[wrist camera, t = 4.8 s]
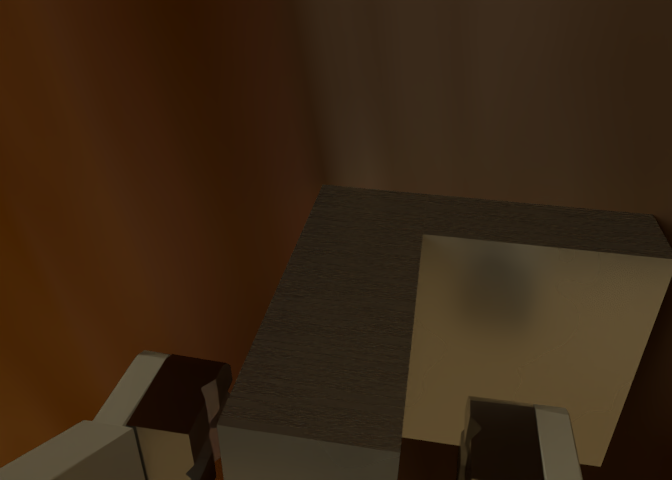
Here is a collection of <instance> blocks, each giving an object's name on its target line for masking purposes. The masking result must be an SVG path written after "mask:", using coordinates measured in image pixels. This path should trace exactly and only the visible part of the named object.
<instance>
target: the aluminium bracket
mask: <svg viewBox="0 0 672 480" xmlns="http://www.w3.org/2000/svg"><path fill="white" fill-rule="evenodd" d="M671 277H672V248H671V247H670V245H669V243H668V241H667V239H666V238H665V236H664V234H663V232H662V230H661V229H660V227H659V225H658V223H657V221H656V220H655V218H654V216H653V215H651V214H640V213H629V212H618V211H607V210H596V209H585V208H574V207H563V206H552V205H541V204H530V203H519V202H508V201H497V200H486V199H475V198H464V197H453V196H442V195H431V194H420V193H409V192H398V191H387V190H376V189H365V188H354V187H343V186H332V185H322V187H321V190H320V192H319V194H318V196H317V199H316V201H315V203H314V205H313V208H312V210H311V212H310V215H309V217H308V219H307V221H306V224H305V226H304V228H303V230H302V233H301V235H300V237H299V239H298V242H297V244H296V246H295V249H294V251H293V253H292V255H291V258H290V260H289V262H288V264H287V267H286V269H285V271H284V273H283V276H282V278H281V280H280V283H279V285H278V287H277V289H276V292H275V294H274V296H273V298H272V301H271V303H270V305H269V307H268V310H267V312H266V314H265V317H264V319H263V321H262V323H261V326H260V328H259V330H258V332H257V335H256V337H255V339H254V341H253V344H252V346H251V348H250V351H249V353H248V355H247V357H246V360H245V362H244V364H243V366H242V369H241V371H240V373H239V375H238V378H237V380H236V382H235V385H234V387H233V389H232V391H231V394H230V396H229V398H228V400H227V403H226V405H225V407H224V409H223V412H222V414H221V416H220V418H219V421H218V423H217V431H218V438H219V446H220V453H221V461H222V468H223V476H224V480H398V470H399V461H400V451H401V442H402V437H404V438H411V439H417V440H424V441H431V442H437V443H444V444H451V445H458V446H459V442H460V436H461V432H462V431H463V430H464V416H465V407H466V402H467V399H468V396H475V397H483V398H491V399H499V400H506V401H514V402H522V403H530V404H531V405H532V404H538V405H546V406H554V407H562V408H566V409H567V411H568V412H569V414H570V419H571V424H572V429H573V434H574V439H575V443H576V448H577V453H578V458H579V463H580V464H585V465H592V466H599V467H601V465H602V462H603V459H604V456H605V454H606V451H607V448H608V446H609V443H610V440H611V438H612V435H613V432H614V430H615V427H616V424H617V422H618V419H619V416H620V414H621V411H622V408H623V406H624V403H625V400H626V398H627V395H628V392H629V389H630V387H631V384H632V381H633V379H634V376H635V373H636V371H637V368H638V365H639V363H640V360H641V357H642V355H643V352H644V349H645V347H646V344H647V341H648V339H649V336H650V333H651V331H652V328H653V325H654V322H655V320H656V317H657V314H658V312H659V309H660V306H661V304H662V301H663V298H664V296H665V293H666V290H667V288H668V285H669V282H670V280H671Z"/></svg>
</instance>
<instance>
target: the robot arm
mask: <svg viewBox="0 0 672 480" xmlns="http://www.w3.org/2000/svg"><path fill="white" fill-rule="evenodd" d="M231 382H232V373H231V367H230V365H229V364H227V363H223V362H217V361H211V360H205V359H199V358H193V357H186V356H180V355H174V354H172V355H170V354H164V353H158V352H152V351H146V350H144V351H143V352H141V353H140V354H138V355H137V356H136V358H135V359H134V361H133V362H132V363H131V365H130V366H129V368H128V369H127V371H126V372H125V374H124V375H123V377H122V378H121V380H120V381H119V383H118V384H117V386H116V387H115V389H114V390H113V392H112V393H111V395H110V396H109V398H108V399H107V400H106V402H105V403H104V405H103V406H102V408H101V409H100V411H99V412H98V414H97V415H96V417H95V418H94V420H93V421H87V420H83V421H82V422H80V423H78V424H77V425H75V426H73V427H71V428H70V429H68V430H66V431H64V432H63V433H61V434H59V435H57V436H56V437H54V438H52V439H50V440H49V441H47V442H45V443H44V444H42V445H40V446H38V447H37V448H35V449H33V450H31V451H30V452H28V453H26V454H24V455H23V456H21V457H19V458H17V459H16V460H14V461H12V462H10V463H9V464H7V465H5V466H4V467H2V468H0V480H215V478H216V471H215V463H214V462H215V461H216V460H218V459H219V458H220V457H221V453H220V446H219V438H218V431H217V423H218V421H219V418H220V416H221V414H222V412H223V409H224V407H225V405H226V403H227V400H228V398H229V396H230V393H229V392H228V389H229V387H230V384H231ZM456 480H583V478H582V473H581V468H580V463H579V458H578V453H577V448H576V443H575V439H574V434H573V429H572V424H571V419H570V414H569V412H568V411H567V409H566V408H562V407H554V406H546V405H538V404H532V405H531V404H530V403H522V402H514V401H506V400H499V399H491V398H483V397H475V396H468V399H467V402H466V407H465V416H464V430H463V431H462V432H461V436H460V442H459V450H458V459H457V476H456Z"/></svg>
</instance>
